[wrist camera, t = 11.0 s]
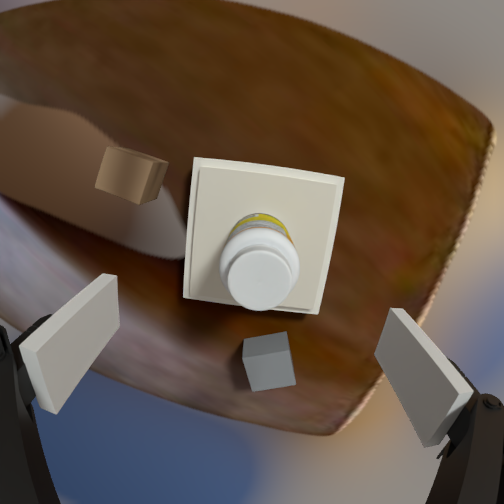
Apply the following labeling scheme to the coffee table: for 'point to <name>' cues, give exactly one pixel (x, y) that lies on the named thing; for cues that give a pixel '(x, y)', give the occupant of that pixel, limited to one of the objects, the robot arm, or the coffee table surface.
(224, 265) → the supplement bottle
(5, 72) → the coffee table surface
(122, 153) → the walnut block
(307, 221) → the podium
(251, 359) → the grey matte cube
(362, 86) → the coffee table surface
